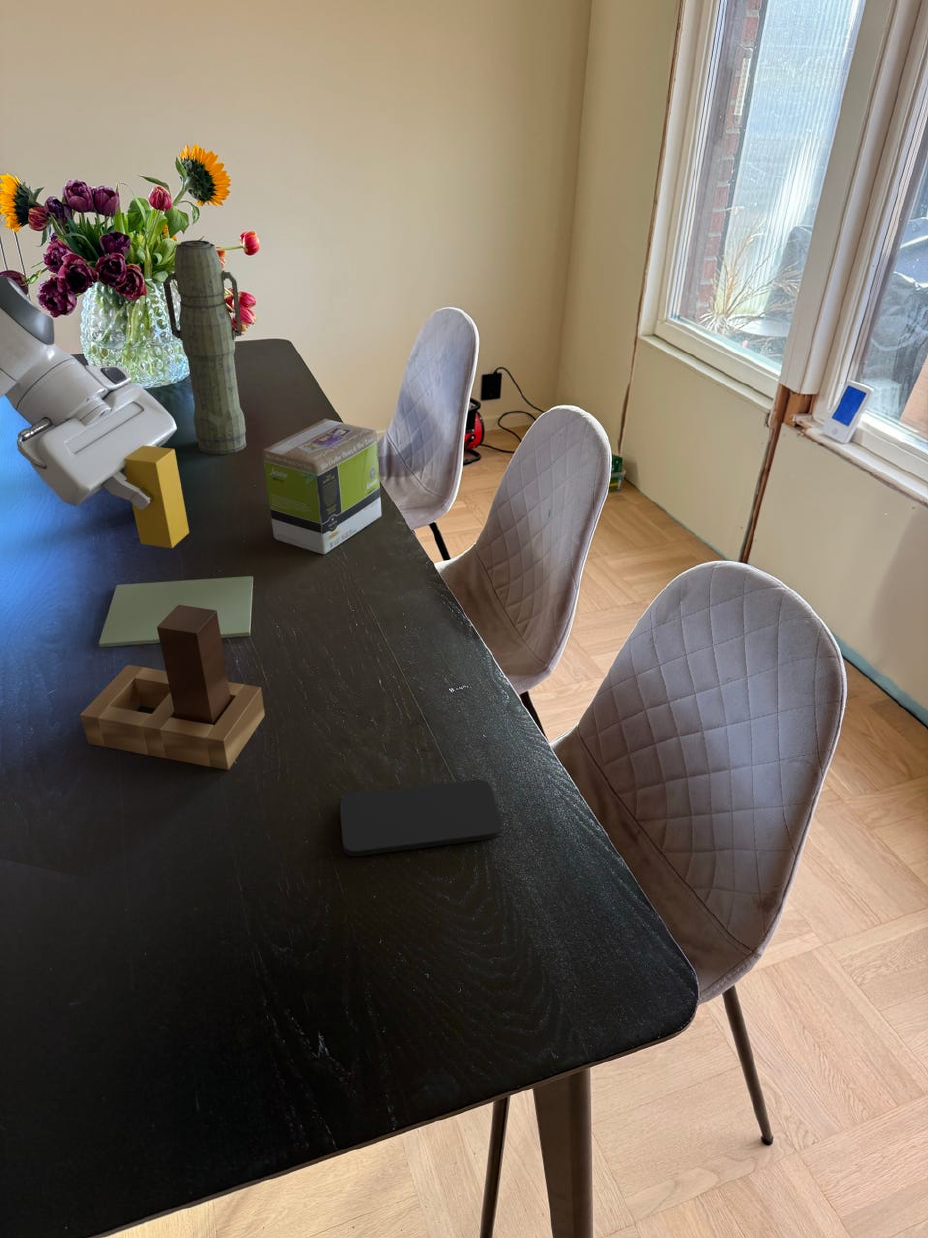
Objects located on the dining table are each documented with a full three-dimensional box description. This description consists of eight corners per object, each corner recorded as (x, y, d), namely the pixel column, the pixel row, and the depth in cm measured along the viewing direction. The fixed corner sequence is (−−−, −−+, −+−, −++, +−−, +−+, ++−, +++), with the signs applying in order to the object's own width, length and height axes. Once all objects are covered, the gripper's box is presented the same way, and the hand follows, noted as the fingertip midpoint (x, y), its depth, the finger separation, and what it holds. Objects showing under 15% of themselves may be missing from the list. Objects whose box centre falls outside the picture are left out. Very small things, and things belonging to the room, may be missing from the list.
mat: (99, 647, 104) (98, 643, 104) (117, 588, 116) (116, 584, 116) (250, 636, 107) (249, 632, 107) (253, 579, 119) (252, 575, 119)
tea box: (332, 503, 140) (326, 415, 131) (382, 518, 136) (380, 428, 127) (271, 539, 129) (260, 447, 120) (324, 557, 125) (317, 462, 116)
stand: (88, 744, 90) (79, 714, 88) (134, 692, 97) (127, 664, 95) (228, 770, 87) (223, 741, 85) (265, 715, 95) (261, 687, 92)
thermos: (187, 439, 161) (155, 238, 141) (251, 434, 164) (229, 236, 145) (190, 457, 154) (157, 248, 134) (257, 451, 157) (234, 246, 138)
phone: (338, 795, 84) (488, 777, 86) (339, 801, 84) (488, 783, 86) (343, 853, 77) (504, 832, 80) (343, 859, 78) (504, 839, 80)
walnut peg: (181, 744, 90) (156, 626, 82) (199, 719, 94) (178, 604, 86) (217, 751, 90) (196, 633, 81) (235, 725, 93) (216, 610, 85)
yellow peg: (140, 543, 103) (122, 458, 97) (158, 528, 106) (141, 444, 100) (172, 548, 102) (155, 462, 96) (189, 532, 105) (174, 448, 99)
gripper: (20, 420, 87) (125, 518, 91) (130, 361, 104) (215, 446, 107) (-6, 456, 90) (97, 549, 94) (105, 394, 107) (188, 475, 111)
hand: (161, 494), depth 101 cm, fingers closed on yellow peg, 4 cm apart
